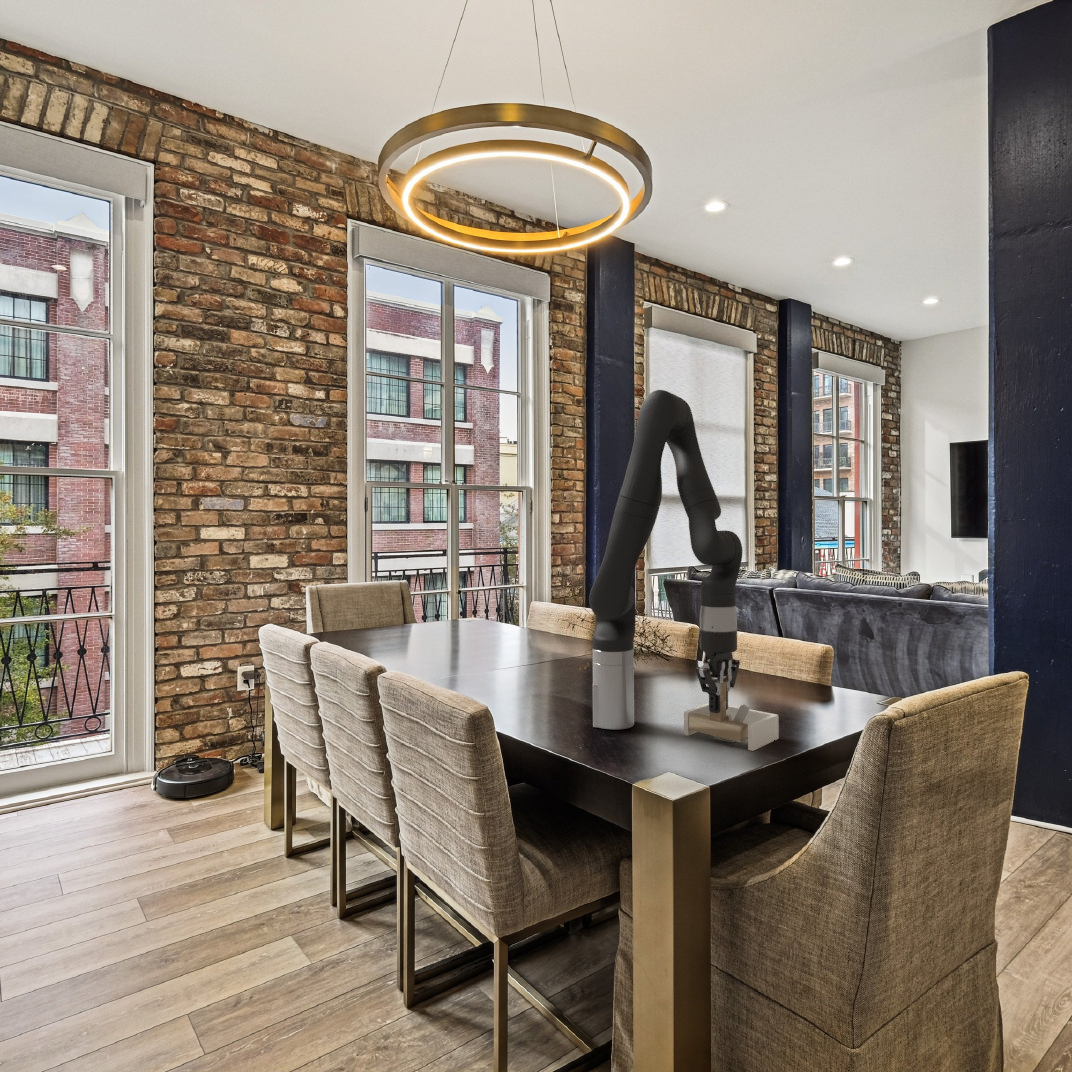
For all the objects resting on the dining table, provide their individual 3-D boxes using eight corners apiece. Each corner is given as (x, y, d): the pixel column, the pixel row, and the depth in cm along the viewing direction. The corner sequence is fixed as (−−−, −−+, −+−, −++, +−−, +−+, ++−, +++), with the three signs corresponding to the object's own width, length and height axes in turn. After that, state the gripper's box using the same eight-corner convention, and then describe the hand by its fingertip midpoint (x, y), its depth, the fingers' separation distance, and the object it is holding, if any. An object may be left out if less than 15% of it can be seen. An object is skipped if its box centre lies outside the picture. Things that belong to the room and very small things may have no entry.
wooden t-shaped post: (740, 742, 146) (740, 687, 146) (688, 729, 154) (689, 677, 154) (747, 738, 148) (748, 684, 148) (696, 726, 157) (697, 675, 156)
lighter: (714, 738, 153) (714, 700, 153) (719, 737, 155) (719, 699, 154) (745, 745, 148) (745, 706, 148) (749, 744, 150) (750, 705, 149)
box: (752, 750, 145) (752, 726, 145) (684, 734, 156) (683, 711, 156) (778, 738, 153) (778, 714, 153) (711, 724, 164) (711, 701, 164)
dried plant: (669, 607, 235) (549, 553, 221) (721, 628, 205) (587, 568, 191) (631, 694, 234) (508, 645, 220) (678, 728, 205) (539, 675, 190)
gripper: (716, 633, 143) (716, 721, 143) (751, 625, 153) (752, 707, 153) (683, 629, 148) (684, 714, 149) (720, 622, 158) (720, 701, 159)
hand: (718, 710), depth 151 cm, fingers closed on wooden t-shaped post, 2 cm apart
